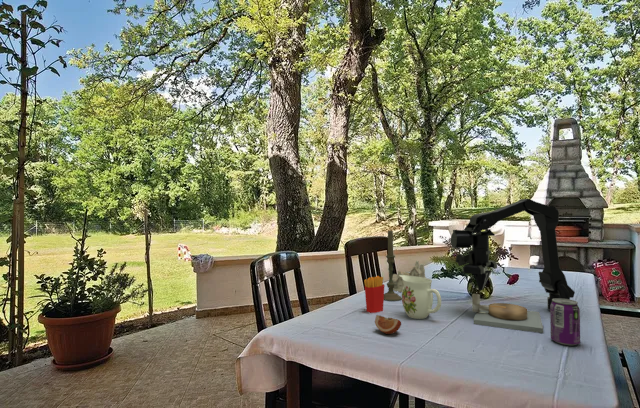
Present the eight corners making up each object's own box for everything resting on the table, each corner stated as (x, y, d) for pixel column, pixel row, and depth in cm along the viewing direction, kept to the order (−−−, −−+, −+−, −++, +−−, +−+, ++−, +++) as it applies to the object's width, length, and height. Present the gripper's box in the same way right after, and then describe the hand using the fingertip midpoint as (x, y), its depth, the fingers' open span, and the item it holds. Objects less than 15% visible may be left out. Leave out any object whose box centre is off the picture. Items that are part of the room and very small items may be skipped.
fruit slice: (371, 332, 114) (370, 316, 114) (383, 327, 119) (383, 311, 119) (393, 338, 108) (393, 322, 109) (405, 333, 113) (405, 317, 113)
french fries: (378, 307, 142) (378, 274, 143) (387, 309, 139) (386, 276, 139) (361, 311, 137) (361, 277, 137) (369, 314, 133) (369, 279, 134)
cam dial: (524, 311, 129) (524, 294, 129) (530, 321, 118) (530, 302, 118) (471, 307, 135) (471, 290, 135) (472, 316, 124) (472, 298, 124)
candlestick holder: (404, 297, 158) (404, 229, 158) (397, 302, 150) (396, 230, 151) (385, 295, 163) (384, 228, 163) (376, 299, 155) (376, 229, 155)
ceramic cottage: (433, 288, 175) (430, 257, 175) (418, 296, 162) (415, 263, 163) (403, 286, 185) (401, 257, 185) (388, 293, 172) (385, 262, 172)
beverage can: (585, 348, 100) (584, 304, 100) (557, 346, 102) (556, 303, 102) (573, 338, 107) (572, 298, 107) (546, 337, 109) (546, 297, 109)
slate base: (539, 316, 130) (539, 311, 130) (543, 333, 112) (543, 328, 112) (475, 308, 140) (475, 304, 140) (470, 323, 122) (470, 318, 122)
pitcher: (430, 326, 119) (430, 284, 120) (390, 313, 134) (389, 276, 134) (450, 320, 126) (450, 280, 126) (409, 308, 140) (409, 273, 141)
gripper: (468, 244, 147) (468, 283, 146) (448, 248, 133) (449, 290, 133) (497, 246, 139) (497, 287, 139) (479, 250, 125) (480, 295, 125)
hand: (480, 289), depth 134 cm, fingers closed
